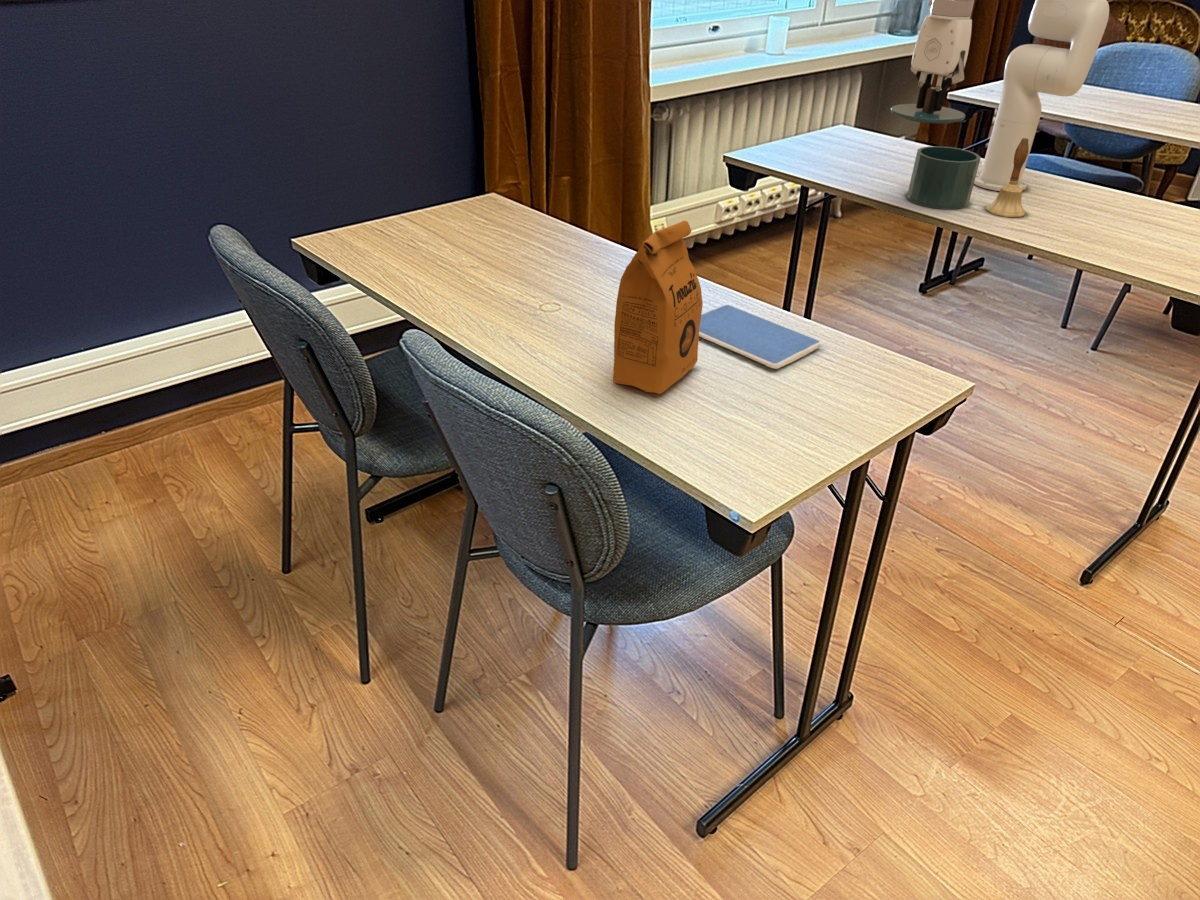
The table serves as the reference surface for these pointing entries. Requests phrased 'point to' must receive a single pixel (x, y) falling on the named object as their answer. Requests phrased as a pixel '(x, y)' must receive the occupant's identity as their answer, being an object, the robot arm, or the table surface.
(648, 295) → the coffee package
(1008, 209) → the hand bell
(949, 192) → the tin
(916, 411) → the table surface
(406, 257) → the table surface
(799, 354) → the tablet
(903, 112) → the tin lid
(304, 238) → the table surface
